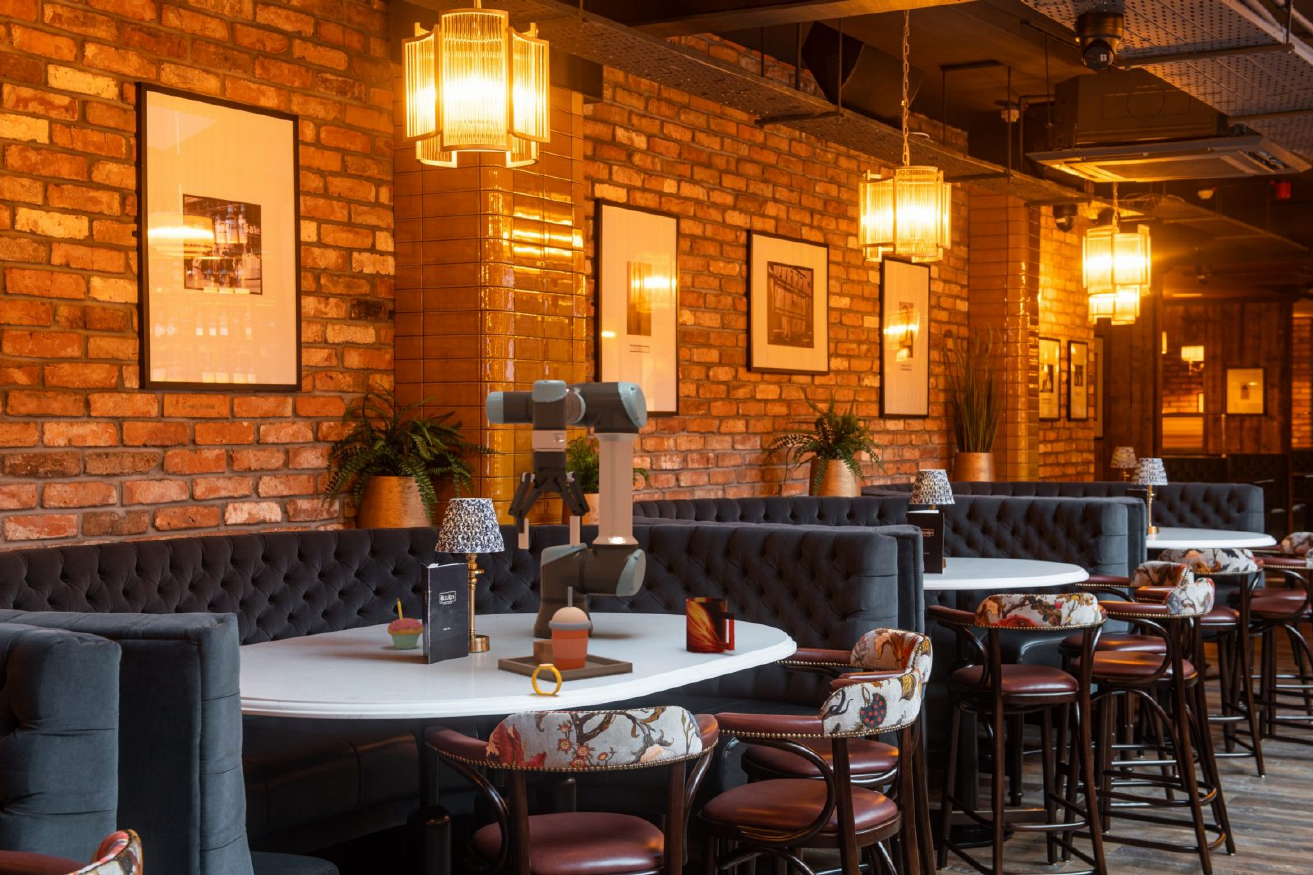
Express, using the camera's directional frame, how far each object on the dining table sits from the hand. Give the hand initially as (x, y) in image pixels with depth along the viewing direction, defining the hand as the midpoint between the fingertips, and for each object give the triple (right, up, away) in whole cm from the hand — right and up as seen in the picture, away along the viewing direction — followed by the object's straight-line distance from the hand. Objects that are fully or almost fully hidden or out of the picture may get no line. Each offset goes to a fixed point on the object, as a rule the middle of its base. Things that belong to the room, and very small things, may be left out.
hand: (549, 547), depth 302 cm
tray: (+4, -26, -5) cm, 27 cm away
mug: (+37, -27, +23) cm, 51 cm away
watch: (+2, -26, -33) cm, 42 cm away
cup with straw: (+5, -26, -10) cm, 28 cm away
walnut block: (0, -26, 0) cm, 26 cm away
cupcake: (-37, -27, +28) cm, 53 cm away
